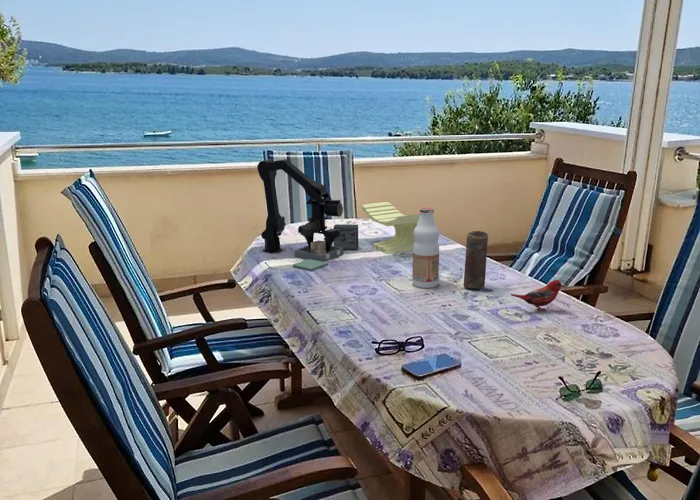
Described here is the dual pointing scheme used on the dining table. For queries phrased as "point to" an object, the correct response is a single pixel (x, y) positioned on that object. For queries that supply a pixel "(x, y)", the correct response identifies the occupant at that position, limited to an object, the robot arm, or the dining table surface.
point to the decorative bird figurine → (542, 295)
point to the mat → (310, 265)
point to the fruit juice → (426, 251)
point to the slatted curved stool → (401, 223)
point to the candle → (475, 260)
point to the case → (306, 254)
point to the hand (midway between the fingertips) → (319, 250)
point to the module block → (318, 247)
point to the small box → (347, 236)
